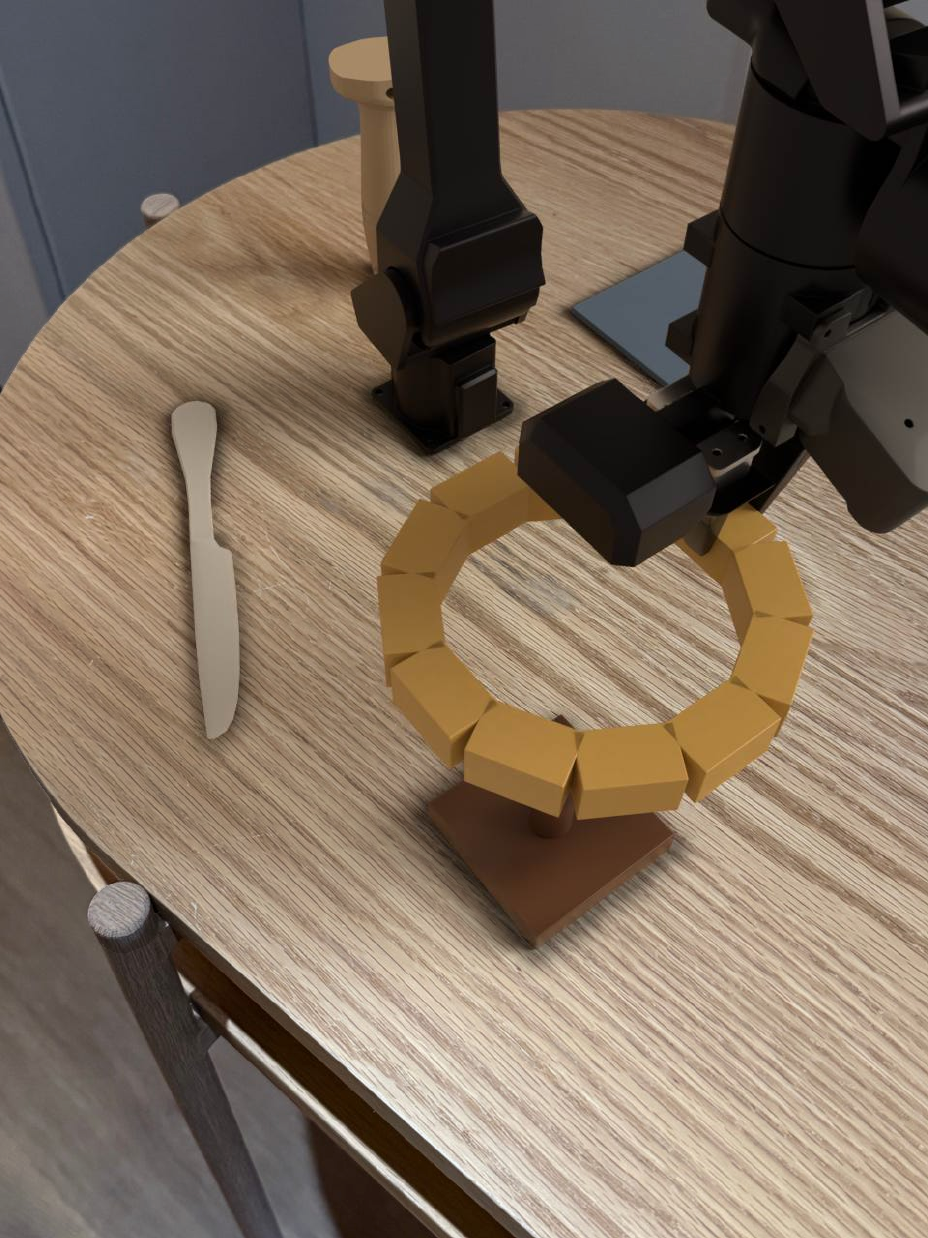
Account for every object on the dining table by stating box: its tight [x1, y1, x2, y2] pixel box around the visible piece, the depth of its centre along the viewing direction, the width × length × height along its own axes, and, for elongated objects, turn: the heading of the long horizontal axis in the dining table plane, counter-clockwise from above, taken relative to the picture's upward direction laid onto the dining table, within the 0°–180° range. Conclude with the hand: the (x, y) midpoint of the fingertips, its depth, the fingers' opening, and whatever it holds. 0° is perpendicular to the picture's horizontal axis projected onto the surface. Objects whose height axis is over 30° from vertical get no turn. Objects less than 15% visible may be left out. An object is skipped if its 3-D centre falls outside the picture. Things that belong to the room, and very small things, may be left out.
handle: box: [328, 35, 401, 276], centre depth 72 cm, size 5×6×15 cm
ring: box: [375, 445, 815, 820], centre depth 46 cm, size 17×17×2 cm
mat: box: [570, 250, 706, 388], centre depth 75 cm, size 12×12×1 cm
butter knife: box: [171, 400, 241, 740], centre depth 63 cm, size 1×24×3 cm
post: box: [427, 714, 675, 950], centre depth 50 cm, size 8×8×8 cm
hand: (719, 534), depth 49 cm, fingers closed on ring, 2 cm apart
